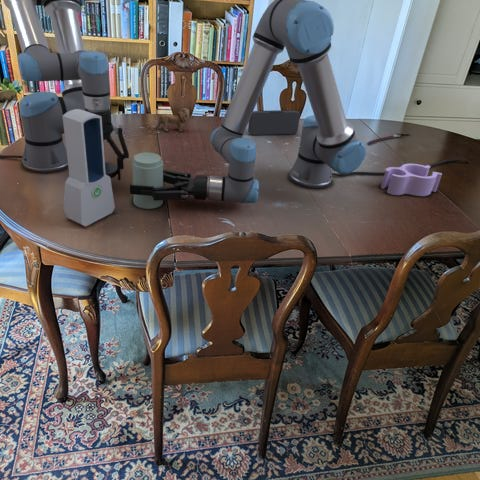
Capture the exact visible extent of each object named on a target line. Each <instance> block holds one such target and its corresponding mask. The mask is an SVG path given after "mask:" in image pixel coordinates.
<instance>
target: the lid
mask: <svg viewBox="0 0 480 480" xmlns="http://www.w3.org/2000/svg"><path fill="white" fill-rule="evenodd" d="M105 173H106V175H108V176H109V177H110V179H113V178H115V177H116V176H118V169H117V164H115V163H113V162H108V161H107V162H106V161H105Z"/></svg>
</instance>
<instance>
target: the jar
mask: <svg viewBox="0 0 480 480" xmlns="http://www.w3.org/2000/svg"><path fill="white" fill-rule="evenodd" d="M131 161H132V162H131V167H132V169H131V170H132V185H139V186H154V188H159V187H164V182H163V169H164V161H163V160H162V156H161V155H160V154H158V153H155V152H147V151H146V152H145V151H143V152H139V153H136V154H135V155H134V156H133V159H132V160H131ZM132 195H133V196H132V199H133V204H134V206H136V207H137V208H140V209H143V210H145V209H146V210H151V209H157V208H159V207H161V206H162V205H163V203H164V200H157V201H155V200H153V197H152V196H147V195H134V194H132Z"/></svg>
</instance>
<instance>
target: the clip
mask: <svg viewBox="0 0 480 480" xmlns="http://www.w3.org/2000/svg"><path fill="white" fill-rule="evenodd" d="M429 165H430V164H427V165H423V164H418V163H404V164H402V165H401V166H398V167H397V166H389V167H386V168H385V171H384V172H385V175H383V178H382V182H381V184H380V185H381V186H380V189H382V190H383V189H384V190H385V189H386V188H387V190H386V194H388V195H392V196H402V195H411V196H416V197H426V196H429V195H431V194H432V192H433V193H436V192H437V190H438V187H439V184H440V181H441V178H442V175H443V173H441V172H438V171H432V172H431V175H429V176H428V174H429V172H430V169H431V167H430V166H429Z"/></svg>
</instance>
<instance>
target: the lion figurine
mask: <svg viewBox="0 0 480 480" xmlns="http://www.w3.org/2000/svg"><path fill="white" fill-rule="evenodd" d="M189 118H190V109H188V108H186V107H184V108H181V109H180V111H178V112H177V113H175V114H169V113H162V114H160V116H159V118H158V121H157V124H156V127H154V130H157V129H162V128H163V130H164V131H165V132H168V131H169V130H168V129H167V128H166V127H167V124H168V123H169V124H172V125H176V129H177V130H178V132H183V129H182V125H183V124H186V122H187V121H188V120H189ZM161 125H162V126H161Z"/></svg>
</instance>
